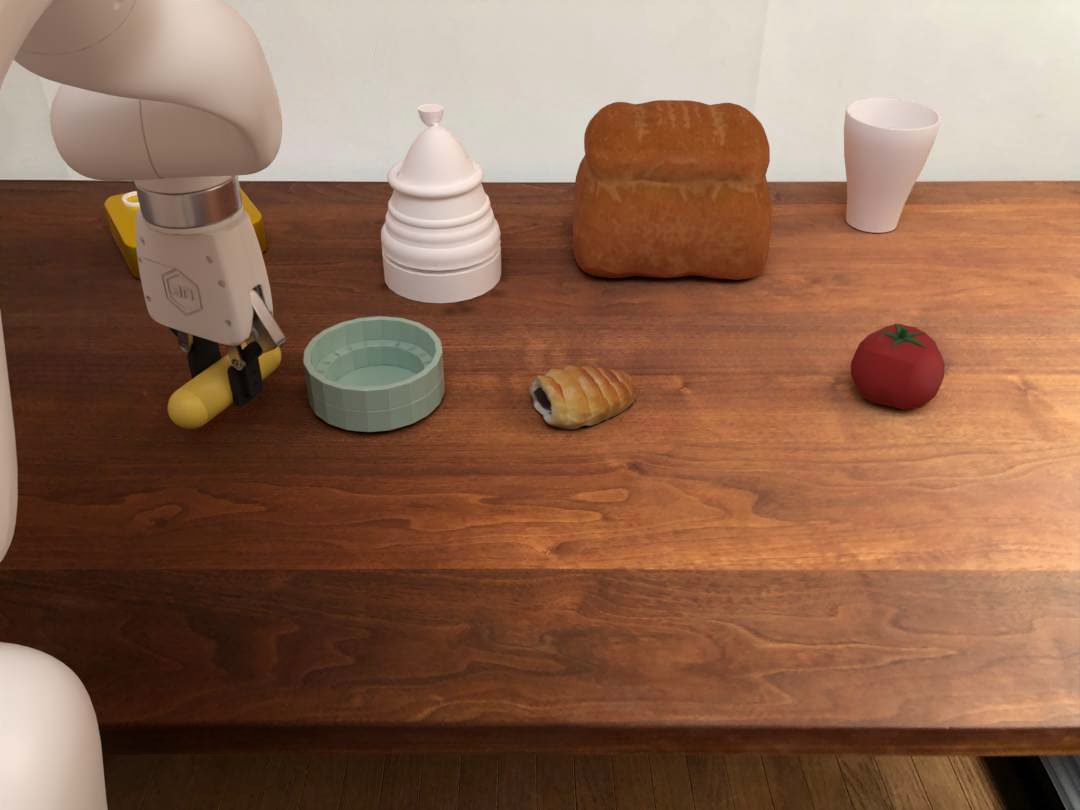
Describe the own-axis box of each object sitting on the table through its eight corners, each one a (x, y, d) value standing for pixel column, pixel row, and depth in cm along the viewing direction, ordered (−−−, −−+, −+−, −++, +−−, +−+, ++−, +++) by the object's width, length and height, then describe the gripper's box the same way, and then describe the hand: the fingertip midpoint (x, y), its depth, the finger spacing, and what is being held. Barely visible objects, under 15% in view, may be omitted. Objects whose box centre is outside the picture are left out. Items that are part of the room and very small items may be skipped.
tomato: (833, 400, 97) (847, 333, 92) (868, 362, 102) (883, 297, 98) (918, 432, 93) (936, 363, 89) (950, 391, 98) (969, 324, 94)
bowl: (397, 452, 90) (392, 404, 87) (282, 413, 94) (274, 367, 92) (468, 381, 99) (467, 335, 96) (361, 349, 103) (356, 304, 100)
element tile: (136, 285, 114) (126, 245, 111) (109, 230, 124) (99, 192, 121) (272, 254, 120) (266, 215, 117) (234, 204, 130) (228, 168, 127)
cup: (927, 242, 123) (954, 130, 115) (837, 241, 123) (858, 129, 115) (903, 204, 131) (926, 97, 124) (818, 203, 131) (836, 97, 124)
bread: (571, 219, 127) (574, 80, 118) (748, 221, 127) (767, 82, 118) (573, 289, 113) (577, 138, 103) (773, 291, 113) (796, 141, 103)
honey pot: (375, 254, 120) (361, 98, 109) (485, 241, 122) (481, 88, 112) (394, 310, 109) (380, 144, 99) (514, 294, 112) (513, 131, 102)
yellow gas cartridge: (198, 440, 86) (183, 402, 85) (166, 434, 88) (152, 397, 86) (301, 360, 96) (290, 325, 94) (271, 356, 98) (260, 321, 96)
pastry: (614, 376, 100) (616, 342, 97) (649, 415, 95) (652, 380, 92) (523, 399, 96) (523, 364, 94) (554, 440, 92) (555, 405, 89)
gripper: (73, 193, 81) (126, 389, 92) (243, 239, 75) (279, 442, 86) (144, 159, 87) (186, 348, 97) (307, 199, 81) (333, 395, 91)
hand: (229, 390), depth 92 cm, fingers closed on yellow gas cartridge, 3 cm apart
